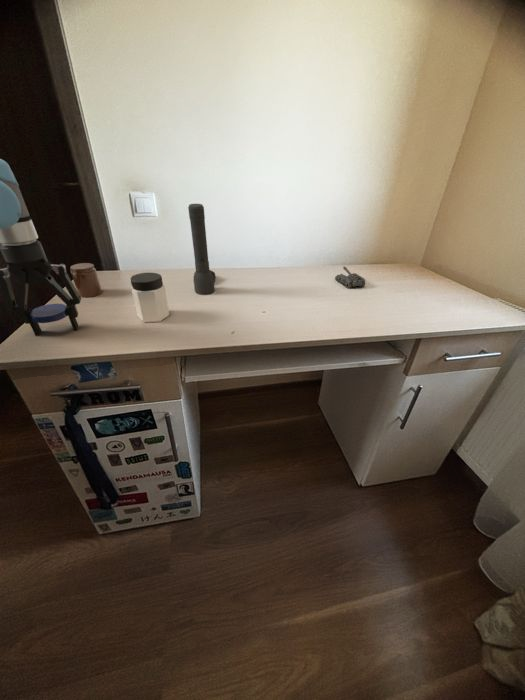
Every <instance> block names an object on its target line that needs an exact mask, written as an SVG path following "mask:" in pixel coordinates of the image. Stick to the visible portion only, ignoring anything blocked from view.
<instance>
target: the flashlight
mask: <svg viewBox="0 0 525 700" xmlns="http://www.w3.org/2000/svg"><path fill="white" fill-rule="evenodd" d="M187 208H188V217H189V221H190V222H189V224H190V231H191V239H192V247H193V256H194V267H195V272H194V273H193V287H194V292H195V294H198V295H204V296H205V295H210V294H211V295H212V294H213V293H214V292H215V282H214V279H213V275H212V272H211V271H212V270H211V269H210V261H209V253H208V243H207V230H206V220H205V219H206V217H205V207H204V205H203V203H190V204H189V205H188V207H187ZM210 270H211V271H210Z"/></svg>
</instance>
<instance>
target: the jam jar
mask: <svg viewBox="0 0 525 700" xmlns="http://www.w3.org/2000/svg"><path fill="white" fill-rule="evenodd" d="M70 274H71V278H72V281H73V282H74V283H73V284H74V286H75V288H76V290H77V292H78V293H79V295H80V297H81V298H93V297H97V296H100V295H101V294H102V293H103V289H102V286H101V283H100V278H99V275H98V272H97V269H96V268H95V264H93V263H90V262H82V263H81V262H80V263H76V264H75V263H74V264H73V265H71V266H70Z"/></svg>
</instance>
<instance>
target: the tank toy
mask: <svg viewBox="0 0 525 700" xmlns="http://www.w3.org/2000/svg"><path fill="white" fill-rule="evenodd" d="M342 268H343V271H345V272H346V273H347V274H348V275H346V274H343V273H339V274H336V275H335V277H334V280H336V281H337V282H338V283H339V284H340V285H342V286H343V287H345V288H346V289H350V288H352V287H360V288H363V287H366V279H365V278H364V277H362V276H361V275H360V274H357V273H355V272H353V273H352V272H351V271H350V270H349V269H348V268H347V267H346V266H343V267H342Z"/></svg>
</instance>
